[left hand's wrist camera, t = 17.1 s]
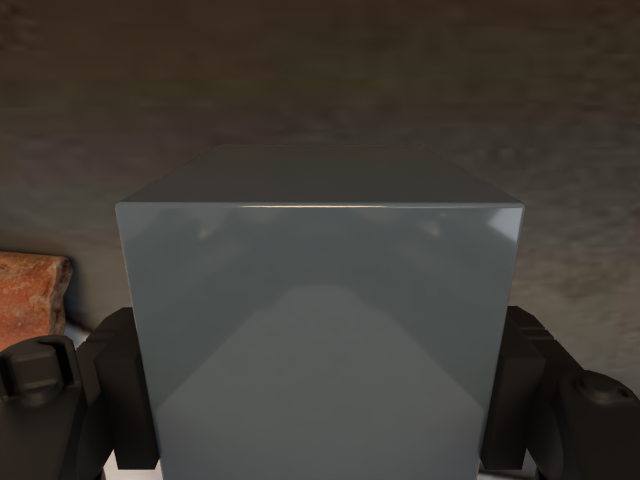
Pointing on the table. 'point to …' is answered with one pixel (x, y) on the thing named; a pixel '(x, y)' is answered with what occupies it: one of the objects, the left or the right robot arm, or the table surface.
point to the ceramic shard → (32, 296)
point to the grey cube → (319, 311)
